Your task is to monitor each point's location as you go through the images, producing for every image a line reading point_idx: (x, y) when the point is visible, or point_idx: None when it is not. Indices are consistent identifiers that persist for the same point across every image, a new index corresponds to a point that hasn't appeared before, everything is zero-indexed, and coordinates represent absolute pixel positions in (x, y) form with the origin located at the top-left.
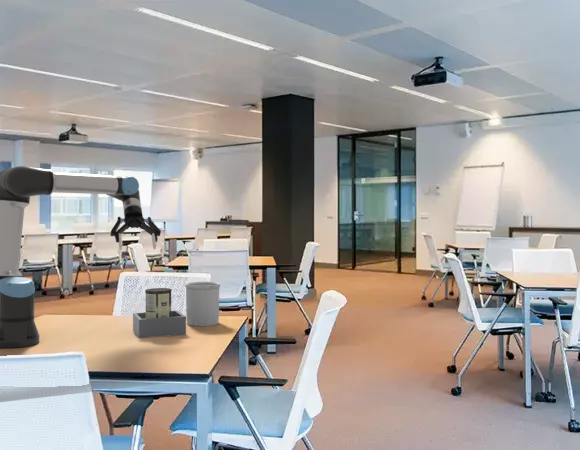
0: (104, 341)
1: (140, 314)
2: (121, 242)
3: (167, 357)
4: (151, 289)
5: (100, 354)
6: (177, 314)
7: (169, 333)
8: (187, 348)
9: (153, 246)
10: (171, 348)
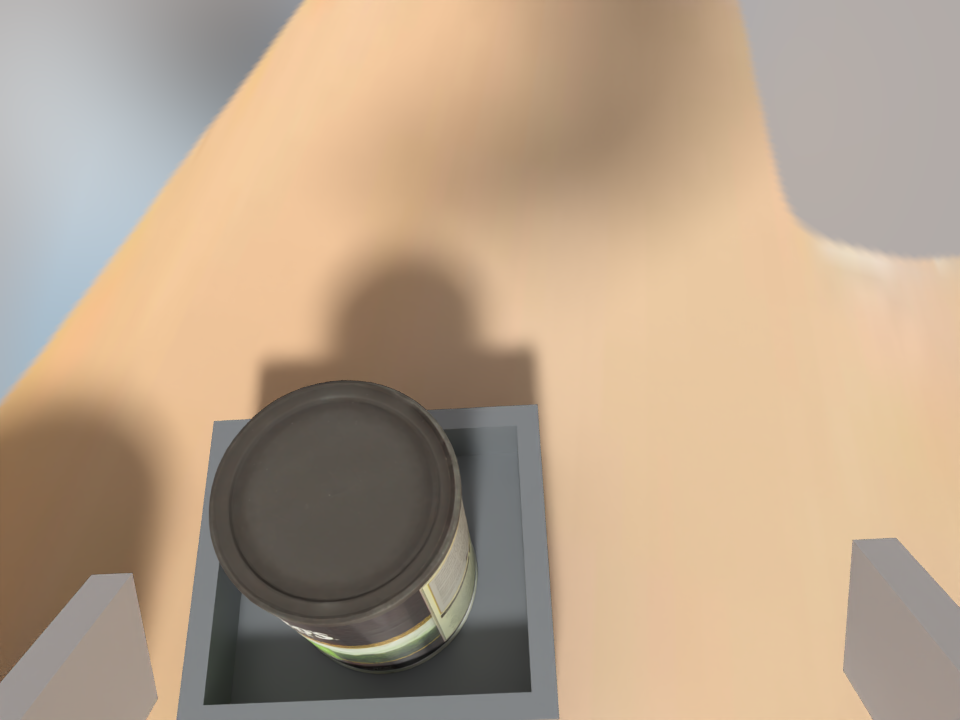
0: (737, 427)
1: (498, 694)
2: (893, 586)
3: (460, 66)
4: (387, 571)
5: (732, 172)
6: (219, 603)
7: None
8: (345, 169)
9: (133, 697)
10: (412, 187)
